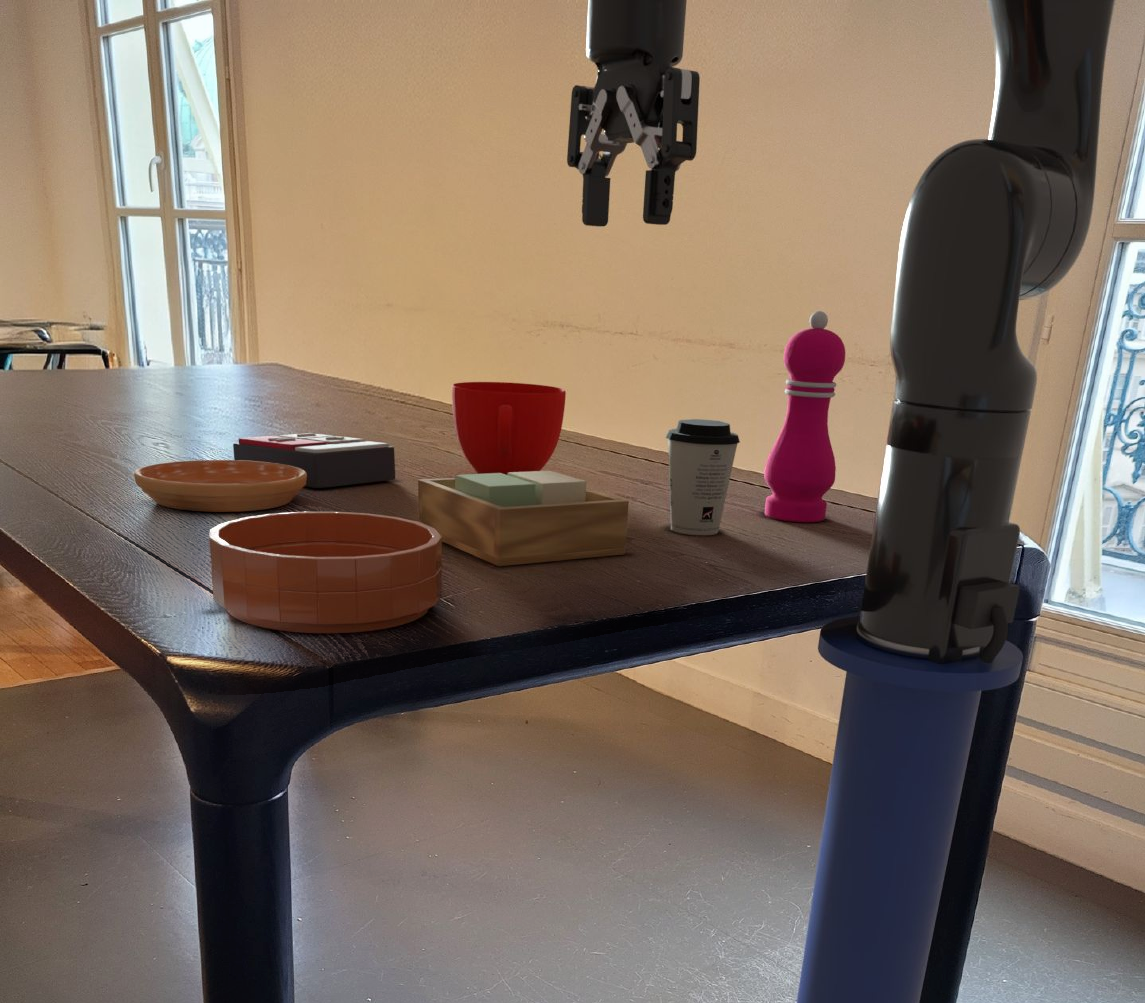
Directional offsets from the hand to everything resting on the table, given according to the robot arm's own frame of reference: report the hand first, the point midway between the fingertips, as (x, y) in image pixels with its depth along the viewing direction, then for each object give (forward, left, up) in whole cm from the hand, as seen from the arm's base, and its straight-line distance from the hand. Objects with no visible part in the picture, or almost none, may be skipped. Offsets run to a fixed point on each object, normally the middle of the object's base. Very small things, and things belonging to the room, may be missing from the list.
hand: (624, 225), depth 94 cm
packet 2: (+2, +5, -25) cm, 26 cm away
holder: (+2, +8, -26) cm, 27 cm away
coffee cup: (+1, -11, -26) cm, 28 cm away
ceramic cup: (+32, -8, -26) cm, 42 cm away
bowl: (-11, +31, -26) cm, 42 cm away
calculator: (+40, +12, -26) cm, 49 cm away
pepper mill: (+3, -26, -26) cm, 37 cm away
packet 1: (+2, +10, -25) cm, 27 cm away
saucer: (+28, +26, -26) cm, 46 cm away
